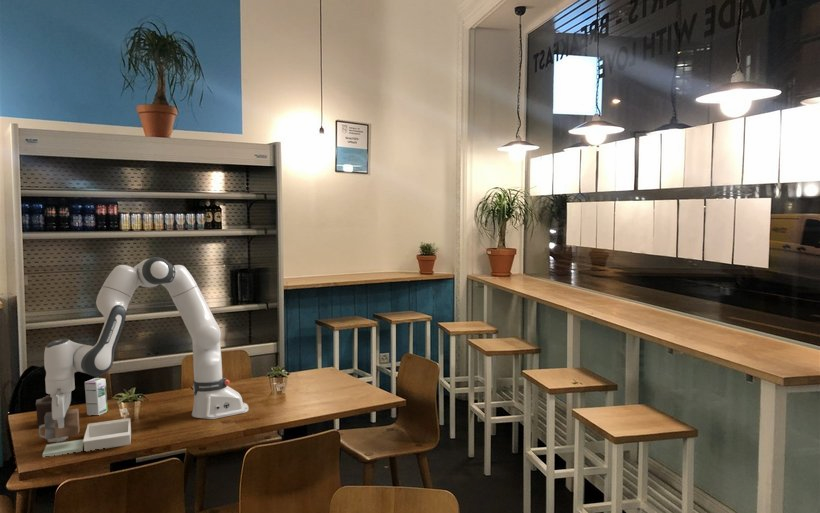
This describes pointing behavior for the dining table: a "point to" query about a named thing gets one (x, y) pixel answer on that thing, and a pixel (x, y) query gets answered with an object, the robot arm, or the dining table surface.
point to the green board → (63, 448)
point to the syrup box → (96, 396)
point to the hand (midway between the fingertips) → (62, 424)
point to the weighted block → (69, 421)
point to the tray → (107, 434)
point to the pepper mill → (43, 409)
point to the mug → (52, 438)
